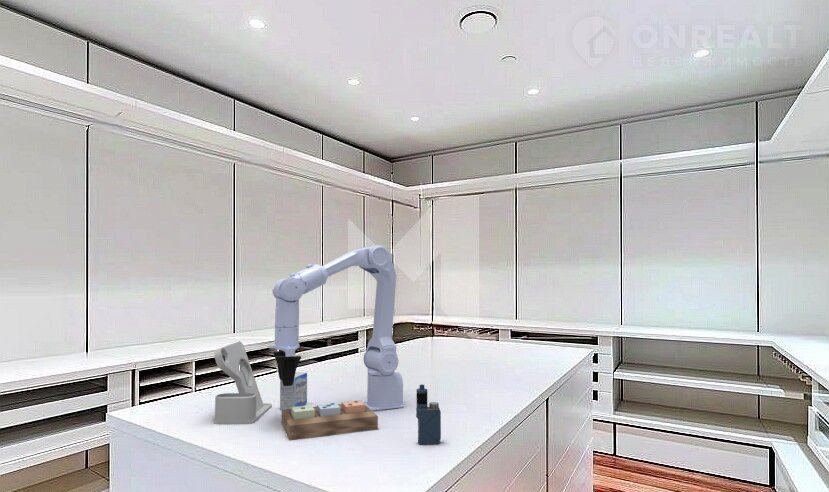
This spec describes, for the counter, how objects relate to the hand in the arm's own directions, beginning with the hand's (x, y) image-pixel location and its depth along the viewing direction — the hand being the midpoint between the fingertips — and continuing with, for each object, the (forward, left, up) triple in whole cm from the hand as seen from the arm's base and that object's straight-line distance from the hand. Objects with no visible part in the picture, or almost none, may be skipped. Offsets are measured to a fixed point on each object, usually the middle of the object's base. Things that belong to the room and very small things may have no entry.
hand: (285, 382), depth 116 cm
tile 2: (-15, +7, -7) cm, 18 cm away
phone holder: (+9, -11, -10) cm, 17 cm away
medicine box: (-4, -14, -10) cm, 17 cm away
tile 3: (-9, +7, -7) cm, 13 cm away
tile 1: (-3, +7, -7) cm, 10 cm away
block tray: (-9, +7, -9) cm, 15 cm away
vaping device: (-26, +27, -10) cm, 39 cm away
